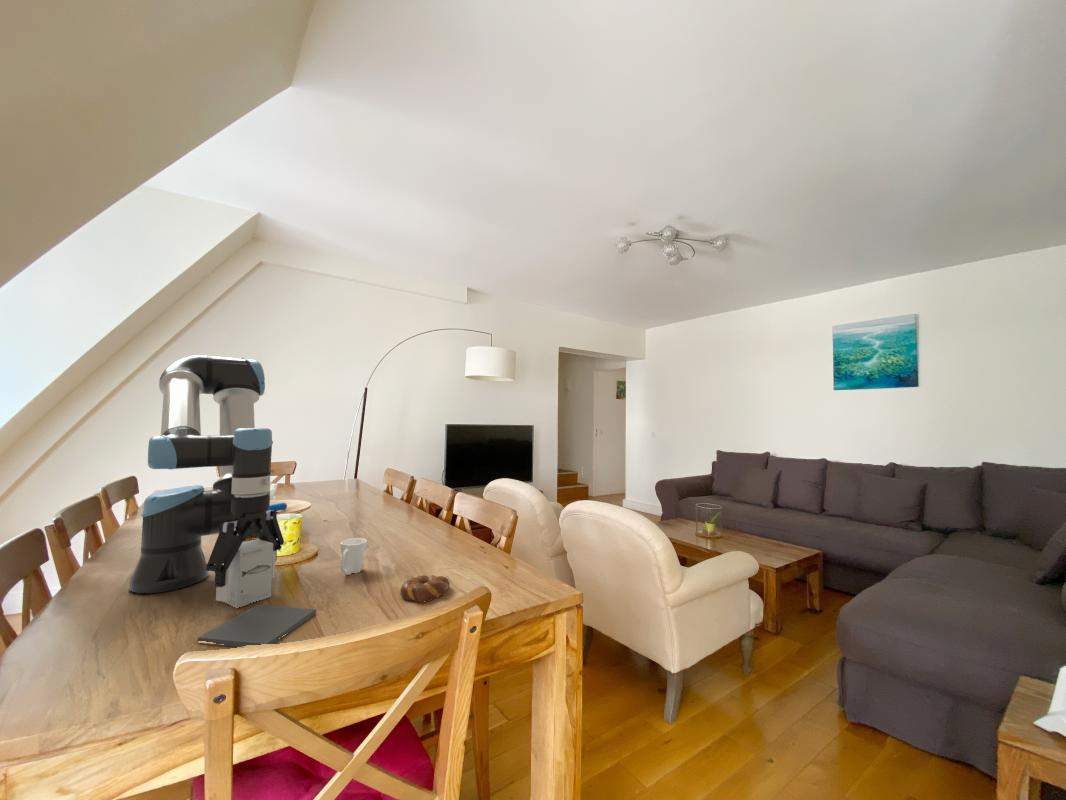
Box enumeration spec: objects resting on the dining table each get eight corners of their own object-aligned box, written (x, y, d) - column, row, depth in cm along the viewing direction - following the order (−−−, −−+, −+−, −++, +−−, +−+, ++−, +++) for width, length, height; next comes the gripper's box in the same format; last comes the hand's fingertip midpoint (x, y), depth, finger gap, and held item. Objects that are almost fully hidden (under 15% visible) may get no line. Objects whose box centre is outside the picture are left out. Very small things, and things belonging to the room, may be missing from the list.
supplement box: (236, 609, 91) (238, 551, 92) (221, 601, 95) (223, 545, 96) (272, 597, 98) (274, 542, 98) (256, 590, 102) (258, 537, 102)
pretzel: (440, 581, 109) (441, 567, 110) (457, 596, 100) (457, 581, 100) (393, 591, 103) (394, 575, 103) (407, 608, 94) (407, 591, 94)
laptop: (197, 643, 78) (197, 637, 78) (256, 609, 92) (257, 604, 92) (265, 649, 76) (265, 643, 76) (315, 613, 90) (315, 609, 90)
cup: (370, 566, 118) (371, 537, 119) (354, 580, 108) (355, 549, 109) (346, 566, 119) (347, 537, 119) (328, 580, 109) (329, 548, 109)
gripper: (219, 505, 85) (214, 614, 84) (301, 486, 109) (298, 570, 108) (186, 504, 86) (182, 611, 85) (275, 485, 110) (272, 568, 109)
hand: (247, 588), depth 97 cm, fingers open, 12 cm apart
